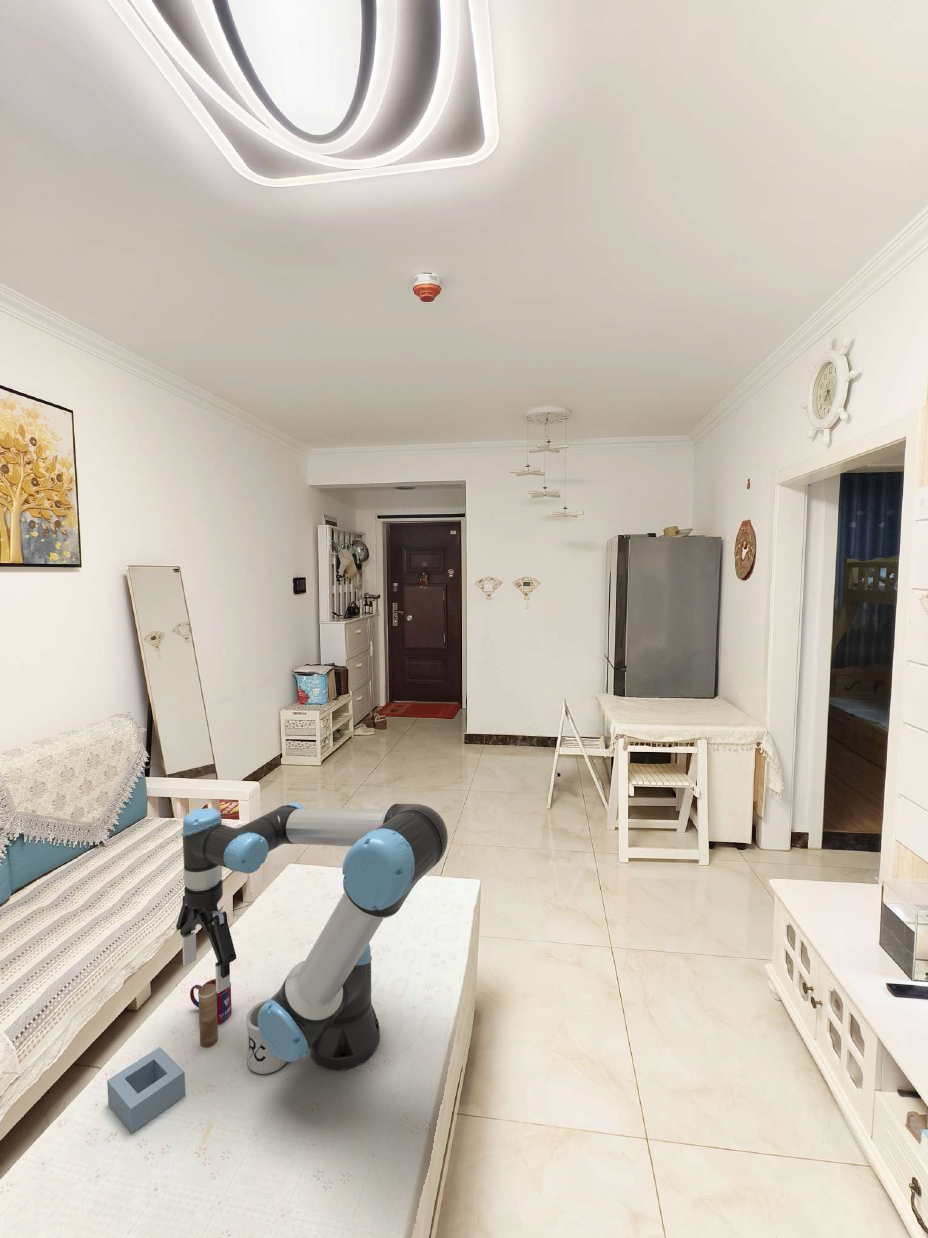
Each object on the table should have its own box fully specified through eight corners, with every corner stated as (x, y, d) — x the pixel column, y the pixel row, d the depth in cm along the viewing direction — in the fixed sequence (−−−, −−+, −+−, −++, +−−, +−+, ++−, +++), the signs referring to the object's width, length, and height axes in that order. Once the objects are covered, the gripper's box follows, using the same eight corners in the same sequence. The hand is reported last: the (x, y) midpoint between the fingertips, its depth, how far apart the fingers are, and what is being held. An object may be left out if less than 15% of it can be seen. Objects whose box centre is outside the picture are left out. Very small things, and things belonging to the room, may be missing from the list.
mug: (237, 1071, 120) (236, 1026, 120) (262, 1037, 129) (261, 995, 128) (291, 1084, 117) (290, 1037, 117) (313, 1048, 126) (312, 1005, 125)
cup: (216, 1030, 131) (215, 1001, 131) (182, 1017, 135) (181, 990, 134) (237, 1009, 137) (237, 982, 137) (205, 998, 141) (204, 971, 140)
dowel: (221, 1039, 128) (219, 988, 127) (205, 1050, 125) (203, 998, 125) (212, 1031, 131) (210, 981, 130) (196, 1042, 128) (194, 990, 127)
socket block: (185, 1095, 115) (184, 1072, 114) (131, 1134, 107) (130, 1109, 106) (160, 1069, 121) (159, 1047, 120) (108, 1104, 113) (107, 1080, 112)
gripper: (252, 894, 121) (254, 991, 123) (190, 858, 136) (193, 944, 137) (218, 911, 115) (221, 1012, 117) (157, 871, 130) (160, 961, 131)
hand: (205, 975), depth 127 cm, fingers open, 13 cm apart
